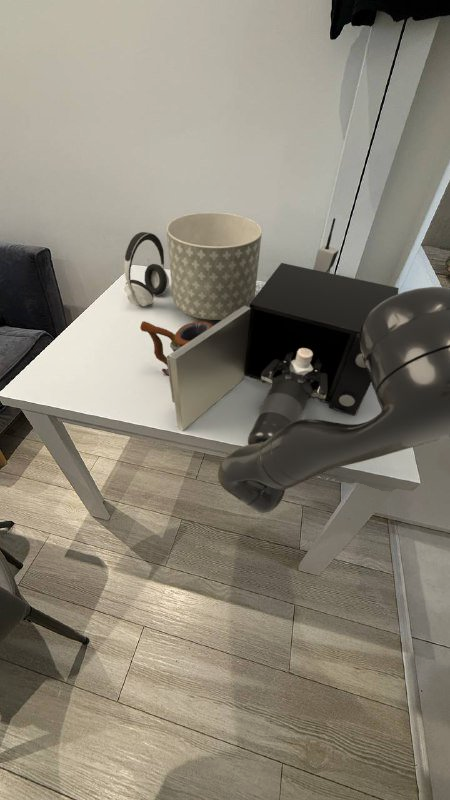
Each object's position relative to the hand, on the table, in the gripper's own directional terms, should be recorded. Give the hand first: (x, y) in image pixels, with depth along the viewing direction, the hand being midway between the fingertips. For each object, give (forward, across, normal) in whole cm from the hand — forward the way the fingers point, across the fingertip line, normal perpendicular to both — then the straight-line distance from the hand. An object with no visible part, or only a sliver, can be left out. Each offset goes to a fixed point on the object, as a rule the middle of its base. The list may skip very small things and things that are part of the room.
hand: (304, 358), depth 72 cm
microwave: (+9, 0, +10) cm, 13 cm away
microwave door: (-12, +18, +9) cm, 24 cm away
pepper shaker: (-3, 0, +6) cm, 7 cm away
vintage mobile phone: (+44, +6, +9) cm, 45 cm away
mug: (-8, +27, +10) cm, 29 cm away
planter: (+24, +34, +10) cm, 42 cm away
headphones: (+20, +55, +10) cm, 59 cm away
